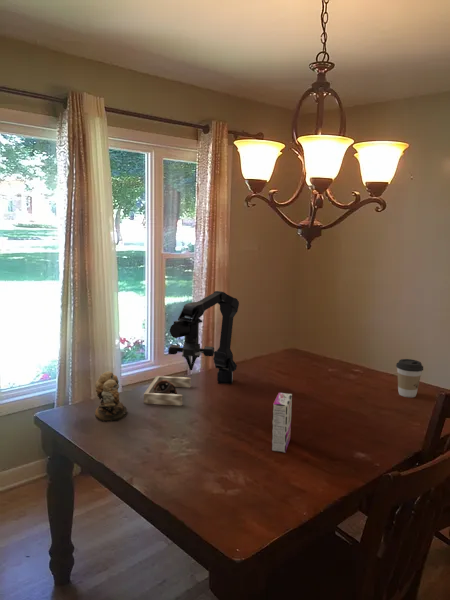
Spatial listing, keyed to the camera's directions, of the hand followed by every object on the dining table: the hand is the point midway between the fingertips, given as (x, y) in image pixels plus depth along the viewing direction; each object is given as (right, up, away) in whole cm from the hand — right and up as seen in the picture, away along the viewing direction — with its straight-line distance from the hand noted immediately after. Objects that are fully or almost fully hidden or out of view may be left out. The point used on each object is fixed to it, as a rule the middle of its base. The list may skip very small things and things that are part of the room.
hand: (191, 370), depth 206 cm
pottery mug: (-11, -11, +1) cm, 16 cm away
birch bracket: (-10, -11, +3) cm, 15 cm away
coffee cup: (+95, -12, +10) cm, 96 cm away
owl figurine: (-29, -14, -19) cm, 38 cm away
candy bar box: (+33, -19, -41) cm, 56 cm away
